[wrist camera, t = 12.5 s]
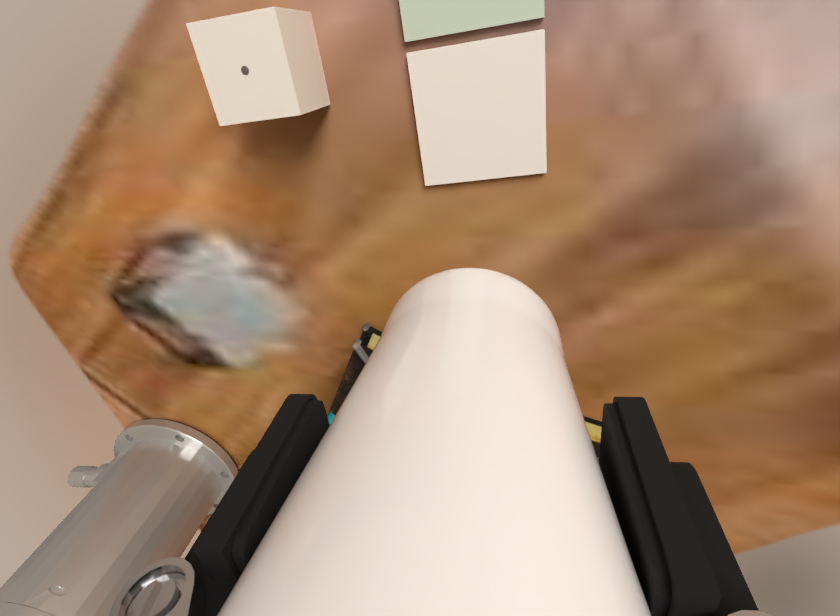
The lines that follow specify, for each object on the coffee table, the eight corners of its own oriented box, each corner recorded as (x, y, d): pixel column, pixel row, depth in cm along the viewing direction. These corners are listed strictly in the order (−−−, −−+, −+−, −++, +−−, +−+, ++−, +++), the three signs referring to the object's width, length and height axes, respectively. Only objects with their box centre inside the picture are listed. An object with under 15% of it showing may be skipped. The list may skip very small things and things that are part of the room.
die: (259, 115, 27) (218, 127, 23) (234, 26, 25) (184, 23, 21) (331, 105, 26) (300, 116, 22) (311, 12, 24) (273, 6, 20)
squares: (426, 184, 27) (425, 185, 27) (381, -136, 20) (379, -139, 20) (546, 171, 26) (546, 172, 26) (541, -178, 19) (541, -182, 19)
